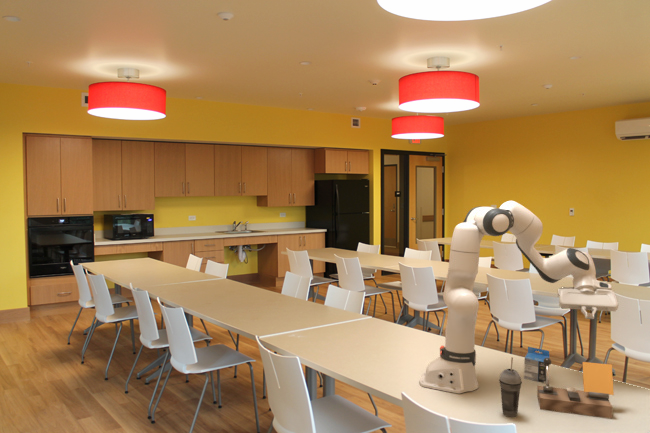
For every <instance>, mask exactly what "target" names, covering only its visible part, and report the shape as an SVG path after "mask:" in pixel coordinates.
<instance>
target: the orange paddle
mask: <svg viewBox="0 0 650 433" xmlns="http://www.w3.org/2000/svg"><path fill="white" fill-rule="evenodd" d="M613 376H614V375H613V365H612V364H608V363H598V362H589V361H582V382H583V391H584V392H588V395H589V397H598V398H607V399H609V398H610V395H611V396H614V395H615V394H614V379H613ZM609 400H610V399H609Z"/></svg>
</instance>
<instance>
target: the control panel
mask: <svg viewBox="0 0 650 433" xmlns="http://www.w3.org/2000/svg"><path fill="white" fill-rule="evenodd" d="M543 386H544V385H537V388H536V389H537V391H536V393H537V395H536V396H537V397H536V398H537V402H538V407H539V409H540V411H541V410H544V411H552V412H559V413H567V414H574V415H582V416H589V417H597V418H607V419H613V405H612V404H611V402H610V399H607V398H598V397H589V395H588V392H584V390H580V389H576V388H574V387H566V388H562V387H553V386H552V387H553V392H546V391H543Z"/></svg>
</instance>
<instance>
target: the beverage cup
mask: <svg viewBox="0 0 650 433" xmlns="http://www.w3.org/2000/svg"><path fill="white" fill-rule="evenodd" d="M513 361H514V357H512V356H511V359H510V368H506V369H504V370H503V371H501V373H500V375H499V379H498V381H499V387H500V398H501V408H502V415H503V416H504V417H505V418H506V417H507V418H510V419H512V418H513V419H515V418H517V417H518V411H519V402H520V393H521V392H520V391H521V388H522V384H523V382H522V376H521V375H520V374H519V372H518V371H517V370H515V369H513Z"/></svg>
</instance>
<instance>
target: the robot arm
mask: <svg viewBox="0 0 650 433" xmlns="http://www.w3.org/2000/svg"><path fill="white" fill-rule="evenodd" d="M543 229H544V226H543V222H542V221H541V219H540V218H539V217H538V216H537V215H536V214H534V213H533V212H532V211H531V210H530V209H528V208H527V207H525V206H523V205H522V204H521V203H519V202H517V201H514V200H508V201H505V202H503V203H502V204H501V205H500V207H492V206H476V207H473V208H471V209H470V210H469V211H467V213H466V216H465V217H464V220H463V221H462V222H460V223H458V224H457V225H456V226H455V227H454V228H453V233H452V237H451V241H450V242H451V243H450V248H449V249H450V251H449V257H448V258H449V259H448V260H449V261H448V269H447V274H446V279H445V283H444V290H443V294H442V295H443V296H442V297H443V298H442V299H443V302H444V304H445V306H446V307H447V320H446V326H445V332H444V333H445V335H444V336H445V342H444V343H445V345H440V346H439V356H438V357H437V358H436V359H434V360H432V361H431V362H429V363H428V365H427V366H426V369H425V373H423V374H422V375H420V377H419V385H420V386H421V387H423V388H428V389H434V390H439V391H442V392H443V391H444V392H448V393H453V394H458V395H459V394H463V393H467V392H472V391H475V390H478V389H479V382H478V379H477V373H476V362H477V354H476V348H475V343H476V342H475V341H476V340H475V339H476V338H475V336H476V335H475V334H476V333H475V332H476V325H477V319H478V312H479V310H480V303H479V299H478V297H477V295H476V294H475V293H474V292H473V291H474V284H475V280H476V277H477V275H478V272H479V262H480V252H481V243H482V240H483V237H484V236H488V237H489V236H491V237H500V236H504V235H505V234H506V233H508V232H510V233H511V234H512V235H514V237H515V243H516V247H517V249H518V251H520V252H521V254H522V255H523V256H524V258H526V260H527V261H528V262H529V263H530V265H532V267H534V269H535V270H536V272H537V274H538V275H539V276H540V278H541V279H542V280H543V281H545V282H547V283H550V284H556V283H557V282H559V281H560V280H562V279H564V278H567V277H569V276H572V286H561V287H559V288H557V295H558V296H559V301H558V306H559V307H560V308H561V309H567V310H568V309H569V310H580V312H581V313H582V314H583V315H584V319H586V320H587V319H588V320H595V315H596V313H597V311H599V312H601V311H602V312H616V311H618V308H619V303H618V298H617V296H616V293H615V292H614V290H612V289H613V286H612V284H610V283H607V282H604V281H600V280H597V277H596V275H597V271H596V265H595V263H594V260H593V257H592V255H591V254H589V253H588V252H586V251H582V250H578V249H576V248H572V247H568V248H565V249H563V250H562V251H559V252H558V253H556V254H553V255H552V256H550V257H543V256H542V255H541V253H540V252H539V251H538V250H537V249H536V248H535V247H534V246H535V245H536V243H537V242H539V240H540V238H541V237H542V234H543ZM587 311H591V312H587Z"/></svg>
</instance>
